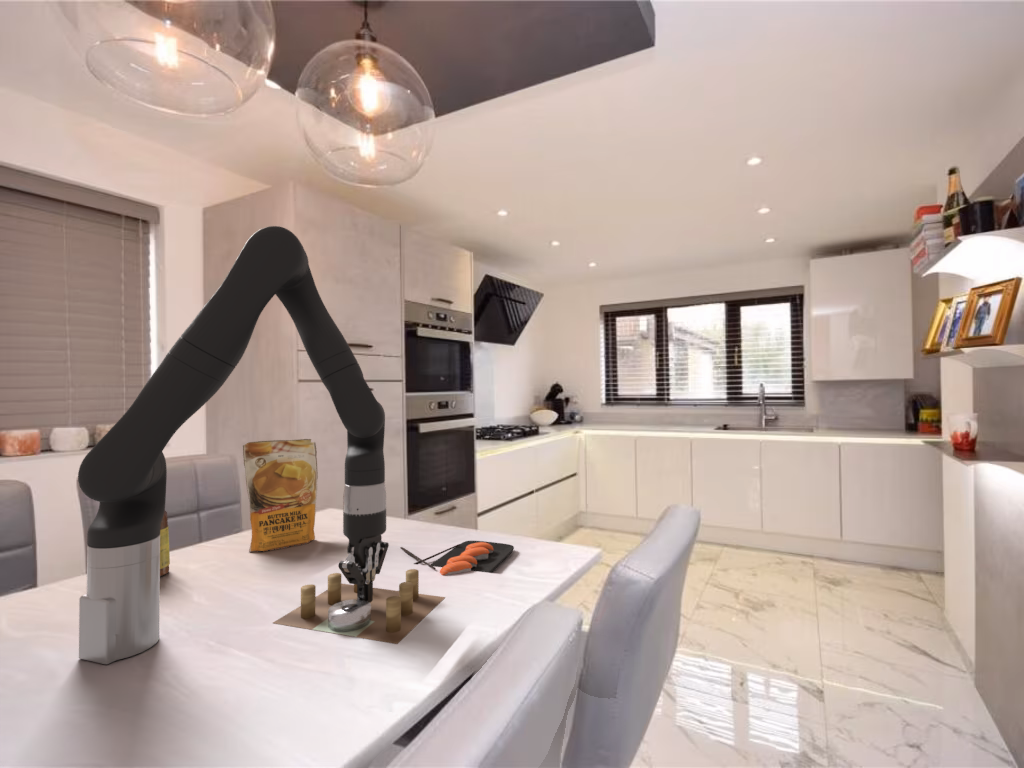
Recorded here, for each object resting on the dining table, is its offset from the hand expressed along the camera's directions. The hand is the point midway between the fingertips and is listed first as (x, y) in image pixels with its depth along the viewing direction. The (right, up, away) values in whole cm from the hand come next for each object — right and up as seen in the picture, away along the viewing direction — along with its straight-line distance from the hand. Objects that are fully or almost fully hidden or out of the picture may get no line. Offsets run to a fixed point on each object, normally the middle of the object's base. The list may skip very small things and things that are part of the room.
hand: (365, 602), depth 89 cm
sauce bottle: (-54, -3, +20) cm, 57 cm away
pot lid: (-1, -1, -5) cm, 5 cm away
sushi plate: (+9, -4, +28) cm, 30 cm away
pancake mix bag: (-35, -4, +42) cm, 54 cm away
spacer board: (0, -3, 0) cm, 3 cm away
